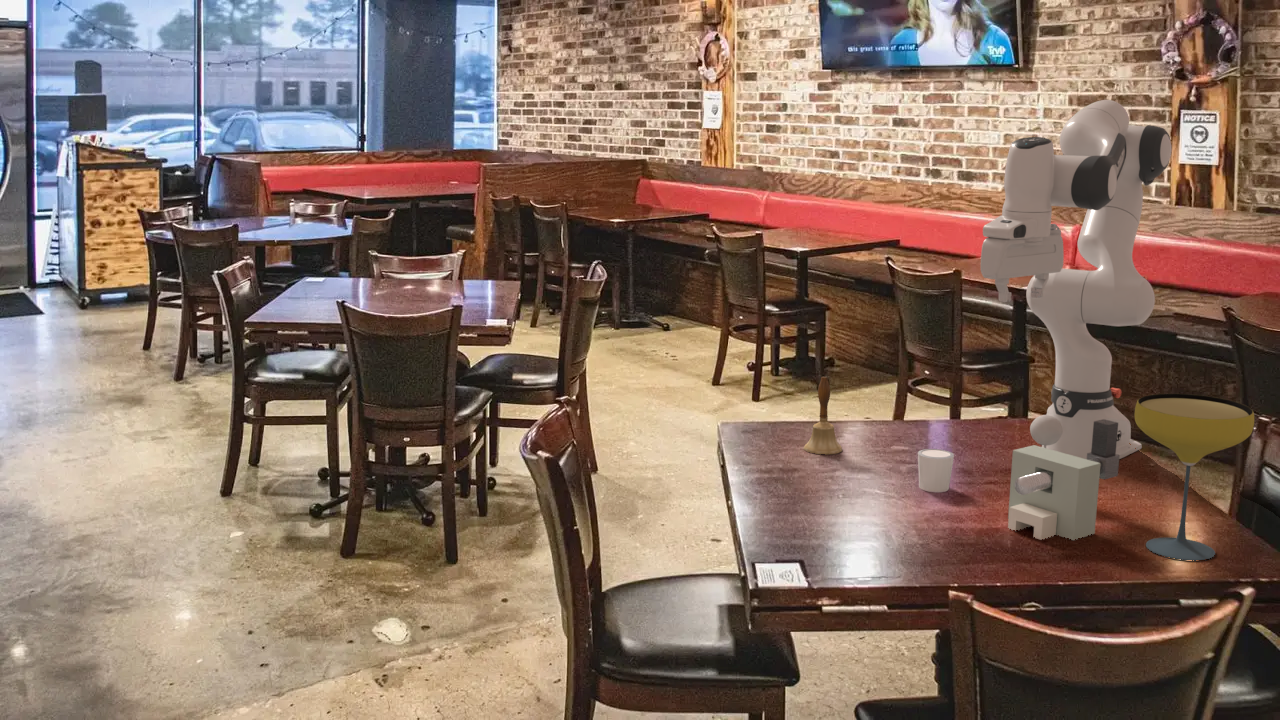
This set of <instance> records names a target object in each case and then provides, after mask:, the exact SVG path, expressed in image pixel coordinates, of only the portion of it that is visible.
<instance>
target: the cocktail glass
mask: <svg viewBox="0 0 1280 720" xmlns="http://www.w3.org/2000/svg"><path fill="white" fill-rule="evenodd" d="M1134 422H1135V423H1136V426H1137V427H1138V428H1139V430H1140V431H1142V432H1143V433H1144V434H1145V435H1146V436H1148V437H1149V438H1151V439H1152V440H1154V441H1156V442H1157V443H1160V445H1162V446H1164V447H1166V448H1168V449H1170V450H1171V451H1172V452H1173V453H1175V454H1176V456H1177V457H1178V459H1179V461H1180V462H1181V463H1182V464H1183V465H1185V466H1186V467H1185V479H1184V487H1183V488H1184V489H1183V497H1182V504H1181V505H1182V506H1181V515H1180V523H1179V527H1178V532H1177V535H1176V537H1173V536H1172V537H1170V536H1166V537H1164V536H1163V537H1155V538H1154V537H1153V538H1152V539H1149V540H1147V542H1145V546H1146V549H1147V550H1148V549H1149V551H1150V552H1151V551H1152V552H1151V553H1153V554H1155V553H1156V554H1155V555H1157V554H1158V555H1157V556H1160V555H1162V556H1165V557H1164V558H1166V557H1170V558H1175V559H1181V560H1192V561H1191V562H1197V561H1196V560H1205V559H1209V560H1211V559H1213V558H1214V557H1215V556H1216V551H1215V550H1214V549H1213V548H1212V547H1210V546H1209V545H1207V544H1205V543H1202V542H1200V541H1197V540H1192V539H1187V537H1186V521H1187V519H1186V518H1187V506H1188V496H1189V484H1190V475H1191V467H1193V466H1195V465H1197V463H1198V462H1200V461H1201V459H1203V458H1204V457H1206V456H1208V455H1210V454H1212V453H1217V452H1219V451H1222V450H1227V449H1229V448H1232V447H1234V446H1237V445H1239V444H1240V443H1242V442H1244V441H1245V440H1247V439H1248V438H1249V437H1250V436H1251V435H1252V433H1253V431H1254V427H1255V413H1254V410H1253V409H1252V408H1251V407H1250V406H1247V405H1246V404H1242V403H1240V402H1237V401H1234V400H1229V399H1225V398H1221V397H1215V396H1210V395H1209V396H1208V395H1201V394H1189V393H1188V394H1187V393H1156V394H1149V395H1145V396H1142V397H1140V398H1138V399H1137V401H1136V404H1135V408H1134ZM1214 555H1215V556H1214ZM1162 556H1161V557H1162ZM1212 557H1213V558H1212ZM1170 558H1169V559H1170ZM1210 558H1211V559H1210ZM1175 559H1174V560H1175ZM1181 560H1180V561H1181ZM1193 560H1194V561H1193ZM1205 561H1206V560H1205Z"/></svg>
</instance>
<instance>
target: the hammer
mask: <svg viewBox="0 0 1280 720" xmlns="http://www.w3.org/2000/svg"><path fill="white" fill-rule="evenodd" d="M1117 432H1118V422H1114V421H1109V420H1105V419H1102V420H1098V421H1094V425H1093V437H1092V449H1091V452H1090V453H1087V460H1091V461H1094V462H1098V463H1101V464H1100V476H1099V480H1100V479H1101V480H1107V479H1110V478H1114V477H1119V464H1120V459H1119V456H1120V455H1118V454H1116V443H1117ZM1053 473H1054V472H1052V471H1049V470H1047V471H1043V472H1039V473H1035V474H1031V475H1028V476H1024V477H1020V478H1017V479H1016V480H1015V483H1014V486H1015V490H1016V491H1017V492H1018V493H1019V494H1021V495H1025V494H1029V493H1032V492H1036V491H1039V490H1043V489H1047V488H1050V487H1052V486H1053Z"/></svg>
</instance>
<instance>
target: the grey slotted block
mask: <svg viewBox="0 0 1280 720" xmlns="http://www.w3.org/2000/svg"><path fill="white" fill-rule="evenodd" d="M1011 456H1012V457H1011V458H1012V459H1011V474H1010V485H1009V487H1010V488H1009V498H1008V501H1009V502H1008V508H1009V507H1012V506H1015V505H1019V504H1022V503H1026V504H1029V505H1032V506H1035V507H1038V508H1041V509H1044V510H1048V511H1051V512H1054V513H1057V524H1056V536H1058V535H1059V537H1062V538H1064V537H1065V539H1067V538H1069V539H1068V540H1070V539H1071V541H1076V540H1079V539H1078V538H1080V539H1081V538H1082V537H1083V538H1086V537H1088V535H1089V536H1092V535H1095V533H1096V522H1097V521H1096V520H1097V511H1098V509H1097V507H1098V496H1099V486H1100V478H1099V476H1100V464H1101V463H1098V462H1094V461H1091V460H1087V459H1083V458H1080V457H1076V456H1072V455H1069V454H1065V453H1061V452H1058V451H1054V450H1050V449H1047V448H1043V447H1042V446H1038V445H1035V444H1033V445H1028V446H1025V447H1021V448H1020V447H1019V448H1017V449H1013V450H1012V455H1011ZM1047 470H1049V471H1052V472H1054V473H1053V486H1052V487H1050V488H1047V489H1043V490H1039V491H1036V492H1032V493H1029V494H1025V495H1021V494H1019V493H1018V492H1017V491H1016V490H1015V486H1014V483H1015V480H1016V479H1017V478H1020V477H1024V476H1028V475H1031V474H1035V473H1039V472H1043V471H1047ZM1007 515H1008V516H1007V519H1008V520H1009V511H1008V514H1007ZM1030 527H1031V525H1030ZM1031 528H1034V526H1032V527H1031ZM1091 534H1092V535H1091ZM1083 538H1082V539H1083ZM1075 539H1076V540H1075Z"/></svg>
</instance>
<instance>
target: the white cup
mask: <svg viewBox="0 0 1280 720" xmlns="http://www.w3.org/2000/svg"><path fill="white" fill-rule="evenodd" d="M954 459H955V454H954V453H953V452H951V451H950V450H949V451H948V450H944V449H940V448H939V449H937V448H925V449H922V450H921V449H920V450H919V451H917V465H918V466H917V469H918V488H919V489H920V490H922V491H925V492H929V493H946V492H947V491H949V490H950V483H951V477H952V471H953V464H954Z"/></svg>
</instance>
